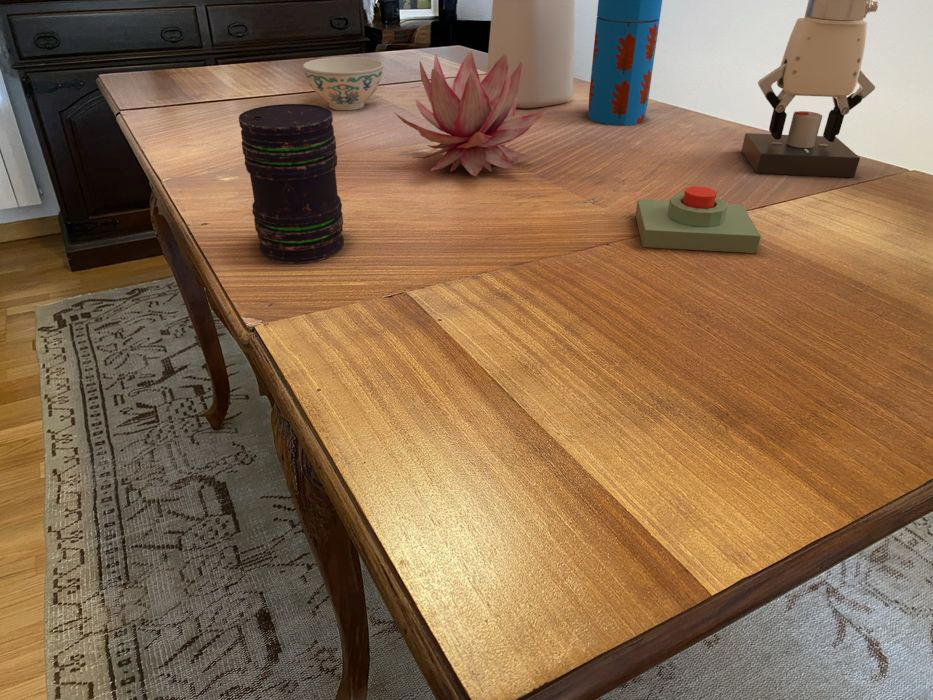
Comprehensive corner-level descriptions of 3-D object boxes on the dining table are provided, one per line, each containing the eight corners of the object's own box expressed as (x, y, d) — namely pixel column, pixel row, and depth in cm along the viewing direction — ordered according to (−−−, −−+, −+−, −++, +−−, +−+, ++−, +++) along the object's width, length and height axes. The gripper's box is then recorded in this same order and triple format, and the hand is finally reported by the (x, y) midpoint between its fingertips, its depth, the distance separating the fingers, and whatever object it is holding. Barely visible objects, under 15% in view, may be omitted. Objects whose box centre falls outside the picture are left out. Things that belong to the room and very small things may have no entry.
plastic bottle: (520, 112, 135) (529, -57, 120) (476, 96, 145) (479, -61, 130) (581, 102, 142) (596, -59, 127) (534, 87, 152) (543, -62, 137)
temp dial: (809, 141, 109) (818, 109, 107) (817, 148, 106) (826, 116, 103) (783, 140, 110) (791, 108, 107) (790, 147, 106) (798, 115, 104)
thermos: (656, 117, 132) (679, -34, 119) (625, 128, 126) (645, -30, 112) (608, 107, 138) (624, -38, 125) (575, 117, 132) (589, -35, 118)
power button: (710, 200, 86) (713, 186, 85) (716, 211, 83) (719, 197, 82) (680, 199, 86) (683, 185, 85) (684, 210, 83) (687, 195, 82)
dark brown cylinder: (336, 224, 88) (324, 100, 79) (353, 256, 80) (342, 122, 72) (254, 235, 85) (232, 107, 77) (263, 269, 77) (241, 131, 69)
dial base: (830, 155, 113) (836, 135, 112) (854, 177, 104) (860, 156, 102) (741, 151, 115) (745, 132, 113) (756, 173, 106) (761, 152, 104)
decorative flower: (568, 174, 104) (578, 66, 96) (442, 200, 95) (441, 83, 87) (491, 138, 120) (493, 43, 112) (376, 157, 111) (370, 54, 102)
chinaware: (328, 94, 146) (324, 54, 141) (396, 100, 142) (394, 59, 138) (293, 112, 133) (288, 69, 129) (367, 118, 130) (364, 74, 126)
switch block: (738, 220, 90) (745, 190, 88) (756, 253, 81) (764, 221, 79) (635, 215, 91) (639, 185, 89) (642, 247, 83) (647, 215, 81)
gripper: (890, 8, 100) (852, 134, 110) (764, 5, 102) (737, 129, 111) (912, 15, 94) (870, 148, 103) (777, 12, 95) (748, 143, 105)
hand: (801, 137), depth 107 cm, fingers open, 7 cm apart
